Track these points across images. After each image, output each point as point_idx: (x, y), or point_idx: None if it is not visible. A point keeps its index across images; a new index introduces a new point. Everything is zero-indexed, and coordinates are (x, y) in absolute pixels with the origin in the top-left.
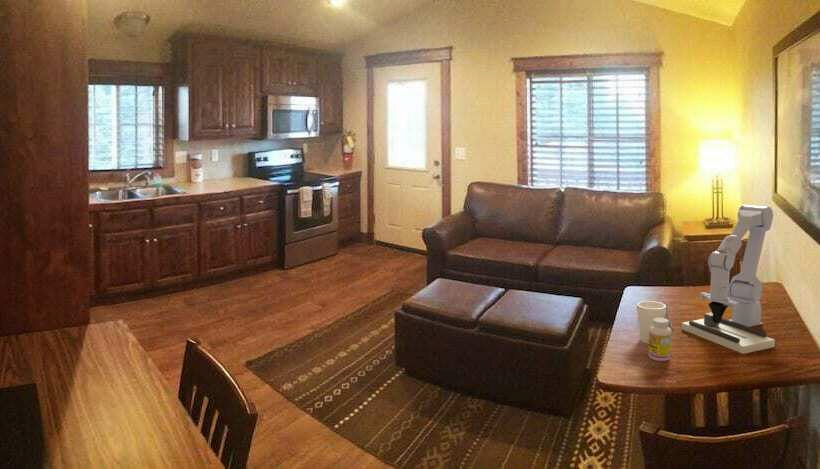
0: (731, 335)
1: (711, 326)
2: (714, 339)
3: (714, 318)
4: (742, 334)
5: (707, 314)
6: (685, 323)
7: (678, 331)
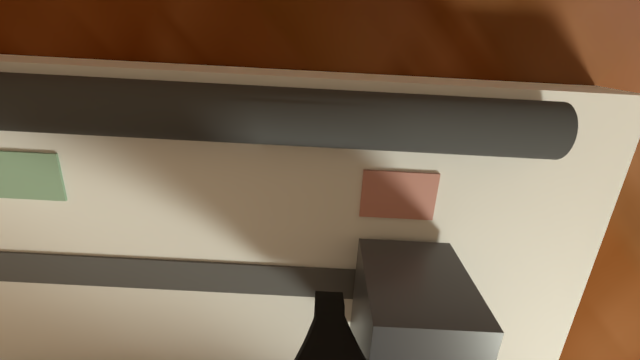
0: (94, 216)
1: (358, 248)
2: (170, 66)
3: (334, 321)
4: (87, 311)
5: (449, 333)
6: (609, 112)
7: (584, 3)
